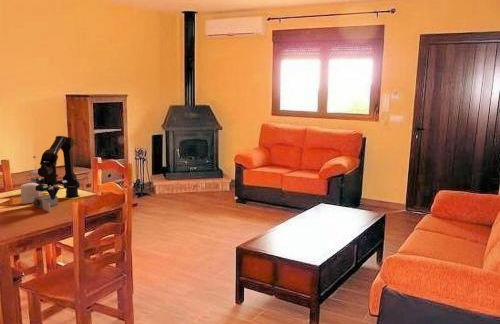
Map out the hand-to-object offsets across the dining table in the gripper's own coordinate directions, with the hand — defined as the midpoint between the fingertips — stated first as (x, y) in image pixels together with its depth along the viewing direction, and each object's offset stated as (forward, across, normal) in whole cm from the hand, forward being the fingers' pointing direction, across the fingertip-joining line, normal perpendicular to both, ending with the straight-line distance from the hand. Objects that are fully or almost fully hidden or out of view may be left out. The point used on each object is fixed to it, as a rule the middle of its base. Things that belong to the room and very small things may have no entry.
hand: (52, 199), depth 251 cm
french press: (+6, -26, -42) cm, 50 cm away
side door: (+6, +4, -2) cm, 7 cm away
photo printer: (+6, -6, -24) cm, 26 cm away
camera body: (+6, -4, -10) cm, 12 cm away
